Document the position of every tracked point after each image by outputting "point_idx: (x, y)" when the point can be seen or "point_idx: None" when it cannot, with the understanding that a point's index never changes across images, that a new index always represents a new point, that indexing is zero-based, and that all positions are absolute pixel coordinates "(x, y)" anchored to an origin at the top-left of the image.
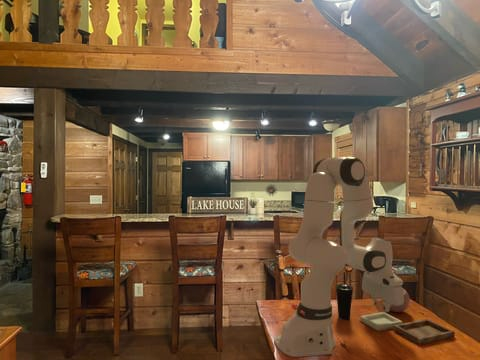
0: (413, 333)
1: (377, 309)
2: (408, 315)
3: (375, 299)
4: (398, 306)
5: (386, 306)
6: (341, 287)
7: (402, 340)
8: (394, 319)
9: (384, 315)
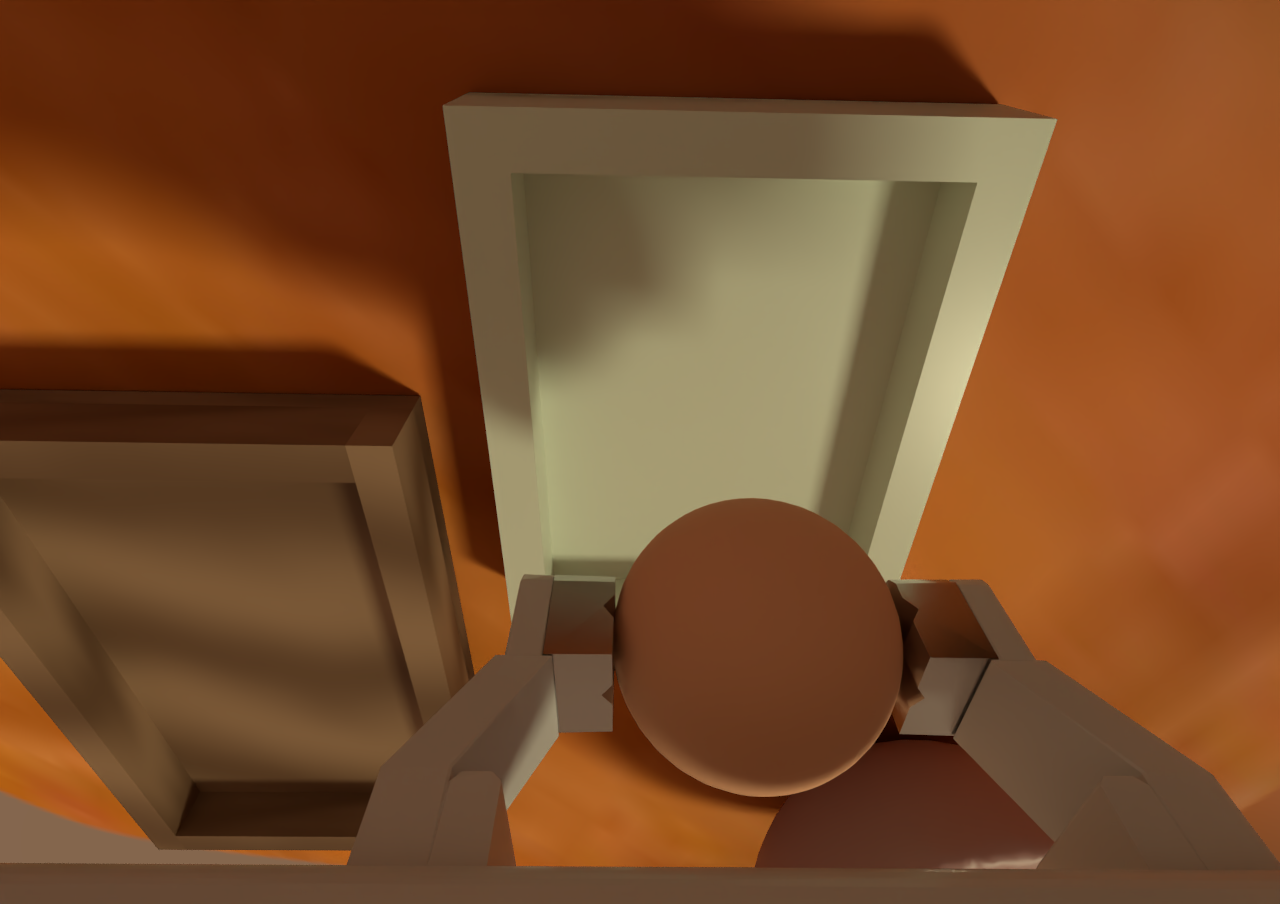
0: (245, 546)
1: (765, 501)
2: None
3: (1028, 754)
4: (791, 849)
5: (483, 689)
6: None
7: (62, 261)
8: None
9: None
